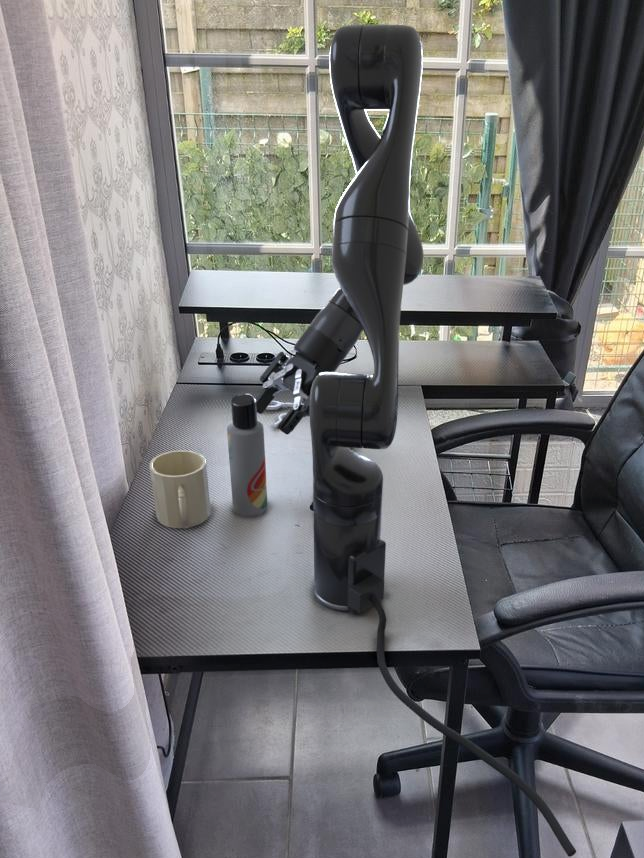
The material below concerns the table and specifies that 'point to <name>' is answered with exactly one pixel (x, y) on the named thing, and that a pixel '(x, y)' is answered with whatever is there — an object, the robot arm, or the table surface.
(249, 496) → the lotion bottle
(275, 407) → the scissors
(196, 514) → the mug
